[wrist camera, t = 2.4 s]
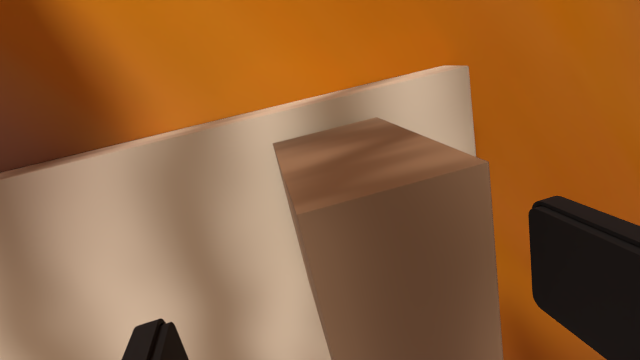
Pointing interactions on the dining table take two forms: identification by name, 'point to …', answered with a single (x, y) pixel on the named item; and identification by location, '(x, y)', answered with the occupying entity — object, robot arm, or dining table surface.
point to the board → (188, 230)
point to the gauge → (395, 242)
